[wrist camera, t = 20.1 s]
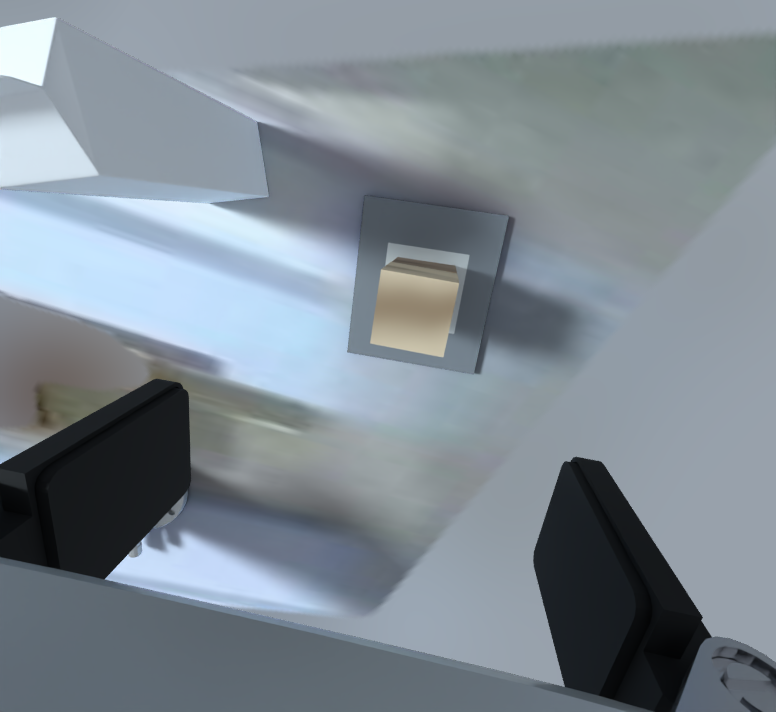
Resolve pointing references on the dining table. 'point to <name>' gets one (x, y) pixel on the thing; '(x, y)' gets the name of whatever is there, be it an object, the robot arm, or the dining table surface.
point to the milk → (115, 124)
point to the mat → (433, 244)
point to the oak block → (414, 308)
